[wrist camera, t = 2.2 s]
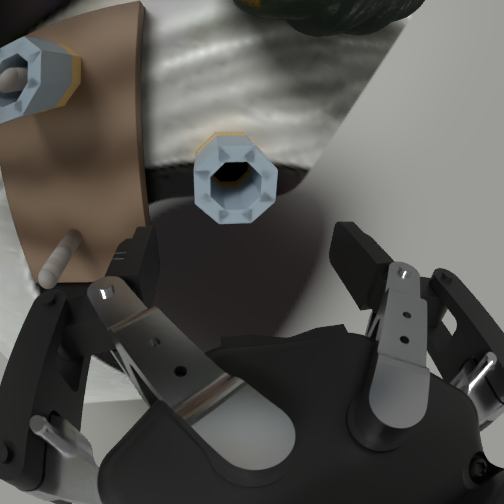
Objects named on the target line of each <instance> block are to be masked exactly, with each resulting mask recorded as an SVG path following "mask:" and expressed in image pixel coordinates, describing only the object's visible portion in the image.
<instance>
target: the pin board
mask: <svg viewBox="0 0 504 504" xmlns="http://www.w3.org/2000/svg"><path fill="white" fill-rule="evenodd" d="M144 12H145V7H144V6H143V5H142V3H141V2H140V1H136V2H130V3H125V4H120V5H115V6H111V7H107V8H103V9H99V10H95V11H91V12H88V13H84V14H81V15H77V16H74V17H71V18H68V19H65V20H62V21H60V22H57V23H54V24H52V25H49V26H46V27H44V28H41V29H39V30H37V31H34V32H32V33H30V34H28V35H25V37H31V38H37V39H42V40H47V41H52V42H57V43H61V44H65V45H66V46H68V47H69V48H70V49H72V50H73V51H74V52H75V53H77V54H78V55H79V56H80V57H81V83H80V85H79V86H78V87H77V89H76V90H75V91H74V93H73V94H72V96H71V97H70V99H69V100H68V101H67V103H66V104H65V106H61V107H58V108H54V109H50V110H47V111H44V112H40V113H36V114H32V115H29V116H25V117H22V118H18V119H15V120H11V121H8V122H5V123H2V124H0V166H1V171H2V177H3V182H4V186H5V191H6V195H7V199H8V203H9V207H10V211H11V215H12V218H13V222H14V225H15V228H16V231H17V235H18V238H19V241H20V244H21V247H22V249H23V252H24V255H25V258H26V260H27V263H28V265H29V268H30V271H31V273H32V275H33V278H34V280H35V283H40V285H41V286H42V287H43V288H45V289H51V288H53V287H54V286H55V285H56V283H61V282H94V281H96V280H98V279H100V278H103V277H104V276H105V274H106V272H107V269H108V267H109V265H110V262H111V260H112V258H113V256H114V254H115V251H116V249H117V247H118V245H119V244H120V243H121V242H123V241H124V240H125V239H128V238H132V237H133V235H134V233H135V230H136V228H137V227H141V226H151V223H150V216H149V207H148V199H147V189H146V179H145V168H144V155H143V138H142V114H141V60H142V38H143V23H144ZM23 37H24V36H23ZM21 38H22V37H21ZM19 39H20V38H19ZM9 44H10V43H9ZM7 45H8V44H7ZM5 46H6V45H5ZM3 47H4V46H3ZM27 83H28V68H8V69H6V70H5V71H4V72H3V73H2V74H1V75H0V91H1V92H3V93H9V92H16V91H23V89H24V88H25V86H26V84H27Z"/></svg>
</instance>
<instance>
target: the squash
mask: <svg viewBox="0 0 504 504" xmlns="http://www.w3.org/2000/svg"><path fill="white" fill-rule="evenodd" d="M233 1H234V3H235V4H236V5H237V6H238V7H239V8H240V9H242V10H244V11H246V12H248V13H250V14H252V15H255V16H258V17H265V18H272V19H285V21H286V22H287V23H288V24H289V25H290V26H291V27H293V28H294V29H295V30H297V31H298V32H301V33H303V34H306V35H310V36H315V37H322V36H330V35H335V34H339V33H346V34H352V35H365V34H371V33H374V32H377V31H379V30H380V29H382V28H384V27H385V26H387V25H388V24H390V23H391V22H394V21H397V20H400V19H403V18H406V17H408V16H409V15H411V14H412V13H413V12H415V11H416V10H417V9H418V8H419V7H420V6H421V5H422V4H423V2H424V1H425V0H233Z"/></svg>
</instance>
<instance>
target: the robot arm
mask: <svg viewBox="0 0 504 504" xmlns="http://www.w3.org/2000/svg"><path fill="white" fill-rule="evenodd" d="M329 258H330V263H331V265H332V266H333V268H334V269H335V271H336V272H337V274H338V276H339V277H340V279H341V280H342V282H343V283H344V285H345V286H346V288H347V290H348V291H349V293H350V294H351V296H352V297H353V299H354V301H355V302H356V304H357V305H358V307H359V309H360V310H366V309H372V313H371V315H370V318H369V322H368V326H367V329H366V333H365V336H364V335H360V334H355V333H348V332H347V330H346V328H345V326H344V324H341V325H334V326H327V327H320V328H315V329H312V330H309V331H307V332H304V333H301V334H298V335H296V336H292V337H289V338H281V337H271V336H261V335H243V336H229V337H221V347H218V348H215V349H212V350H210V351H207V352H206V353H203V352H202V351H201V350H200V349H199V348H198V347H197V346H196V345H195V344H193V343H192V342H191V341H190V340H189V339H188V338H187V337H186V336H185V335H184V334H183V333H182V332H181V331H180V330H179V329H178V328H177V327H176V326H175V325H174V324H173V323H172V322H171V321H170V320H169V319H168V318H167V317H166V316H165V315H164V314H163V313H162V312H161V311H160V310H159V309H158V308H157V307H156V306H153V305H154V299H155V293H156V288H157V282H158V277H159V271H160V260H159V252H158V245H157V237H156V230H155V227H154V226H141V227H137V228H136V230H135V233H134V235H133V237H132V238H128V239H125V240H124V241H123V242H121V243H120V244H119V245H118V247H117V249H116V251H115V254H114V256H113V258H112V260H111V262H110V265H109V267H108V269H107V272H106V274H105V276H104V277H103V278H100V279H98V280H96V281H94V282H93V283H92V284H91V285H90V286H89V288H88V290H87V295H84V296H81V297H76V298H72V299H68V300H67V297H66V295H65V293H64V292H63V291H62V290H59V289H52V290H48V291H46V292H44V293H42V294H40V295H39V296H38V297H37V298H36V299H35V301H34V302H33V305H32V307H31V309H30V311H29V313H28V315H27V317H26V319H25V322H24V324H23V326H22V328H21V331H20V333H19V335H18V338H17V340H16V343H15V345H14V348H13V350H12V353H11V355H10V358H9V361H8V364H7V367H6V369H5V372H4V375H3V379H2V382H1V385H0V479H2V480H4V481H5V482H7V483H9V484H12V485H13V486H15V487H17V488H18V489H19V490H21V491H23V492H26V493H28V494H30V495H33V496H35V497H37V498H39V499H42V500H45V501H50V502H53V503H55V504H72V503H75V504H504V468H500V467H497V466H495V465H493V464H491V463H490V462H489V461H488V460H487V458H486V456H485V454H484V452H483V447H482V443H481V438H480V431H482V430H483V429H485V428H486V427H487V426H489V425H490V424H491V423H492V422H493V421H494V420H496V419H497V418H498V417H499V416H500V415H501V414H502V413H504V333H503V331H502V330H501V329H500V327H499V326H498V325H497V324H496V322H495V321H494V320H493V318H492V317H491V316H490V315H489V313H488V312H487V311H486V310H485V308H484V307H483V306H482V305H481V304H480V302H479V301H478V300H477V299H476V298H475V296H474V295H473V294H472V293H471V292H470V291H469V290H468V288H467V287H466V286H465V285H464V284H463V283H462V282H461V280H460V279H459V278H458V277H457V276H456V275H454V274H453V273H452V272H450V271H448V270H446V269H442V268H438V269H435V270H434V272H433V275H432V277H431V278H426V277H420V274H419V273H418V271H417V270H416V269H415V268H414V267H412V266H411V265H409V264H406V263H403V262H394V261H393V259H392V258H391V257H390V256H389V255H388V254H387V253H386V252H385V251H384V250H383V249H382V248H381V247H380V246H379V245H378V244H377V242H376V241H375V240H374V239H373V238H372V237H370V236H369V235H367V234H365V233H363V231H361V230H360V228H359V227H358V226H357V225H356V224H355V223H354V222H337V223H336V224H335V227H334V232H333V236H332V241H331V246H330V251H329ZM447 309H449V310H450V312H451V313H452V315H453V316H454V317H455V319H456V321H457V328H456V331H455V332H454V334H453V336H452V335H451V334H450V332H449V331H448V329H447V328H446V326H445V325H444V324H443V322H442V321H441V320H442V318H443V317H444V315H445V313H446V311H447ZM107 351H111V352H112V354H113V356H114V357H115V359H116V360H117V362H118V363H119V365H120V366H121V368H122V369H123V371H124V372H125V373H126V375H127V376H128V378H129V379H130V380H131V382H132V383H133V385H134V386H135V388H136V389H137V391H138V392H139V394H140V396H141V397H142V399H143V400H144V401H145V403H146V404H147V406H148V407H149V409H148V410H147V411H146V413H145V414H144V415H143V416H142V417H141V418H140V419H139V420H138V421H137V422H136V424H135V425H134V426H133V427H132V428H131V429H130V430H129V431H128V432H127V433H126V434H125V435H124V436H123V438H122V439H121V440H120V441H119V442H118V443H117V444H116V445H115V446H114V447H113V448H112V449H111V450H110V451H109V452H108V454H107V455H106V456H105V458H104V459H103V461H102V463H101V465H100V467H98V466H97V465H96V463H95V461H94V458H93V451H92V447H91V444H90V442H89V441H88V439H87V438H86V437H85V436H84V435H82V434H81V433H80V428H81V418H82V409H83V402H84V395H85V388H86V382H87V376H88V370H89V364H90V359H91V355H95V354H99V353H103V352H107ZM427 351H428V353H429V354H430V356H431V358H432V360H433V361H434V363H435V365H436V367H437V369H438V370H439V372H440V374H441V376H442V378H443V379H444V380H443V379H441V378H440V377H438V376H436V375H434V374H433V373H431V372H430V370H429V369H428V368H427V367H426V352H427Z"/></svg>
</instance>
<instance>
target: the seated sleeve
mask: <svg viewBox="0 0 504 504" xmlns="http://www.w3.org/2000/svg"><path fill="white" fill-rule="evenodd" d="M8 68H28V83H27V84H26V86H25V88H24V89H23V91H16V92H9V93H3V92H1V91H0V124H2V123H5V122H8V121H11V120H15V119H18V118H22V117H25V116H29V115H32V114H36V113H40V112H44V111H47V110H50V109H54V108H58V107H61V106H65V104H66V103H67V101H68V100H69V99H70V97H71V96H72V94H73V93H74V91H75V90H76V89H77V87H78V86H79V85H80V83H81V57H80V56H79V55H78V54H77V53H75V52H74V51H73V50H72V49H70V48H69V47H68V46H66V45H65V44H61V43H57V42H52V41H47V40H42V39H37V38H31V37H25V36H24V37H22V38H20V39H17V40H15V41H13V42H11V43H10V44H8V45H6V46H4V47H2V48H0V75H1V74H2V73H3V72H4V71H5V70H6V69H8Z"/></svg>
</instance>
